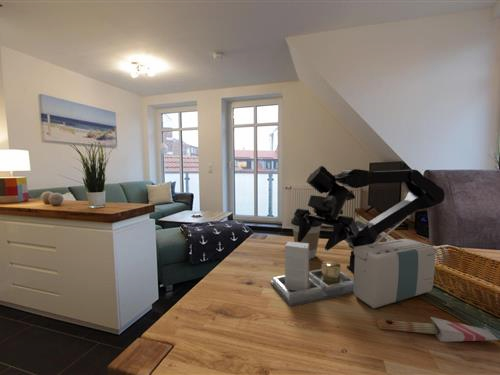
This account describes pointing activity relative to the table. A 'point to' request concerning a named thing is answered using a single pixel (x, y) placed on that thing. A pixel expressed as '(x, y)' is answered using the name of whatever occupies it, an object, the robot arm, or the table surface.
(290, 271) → the skincare box
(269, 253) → the table surface
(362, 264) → the white boxy appliance
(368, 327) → the table surface
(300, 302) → the grey divided tray
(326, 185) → the robot arm
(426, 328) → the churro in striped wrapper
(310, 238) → the coffee cup
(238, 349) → the table surface
